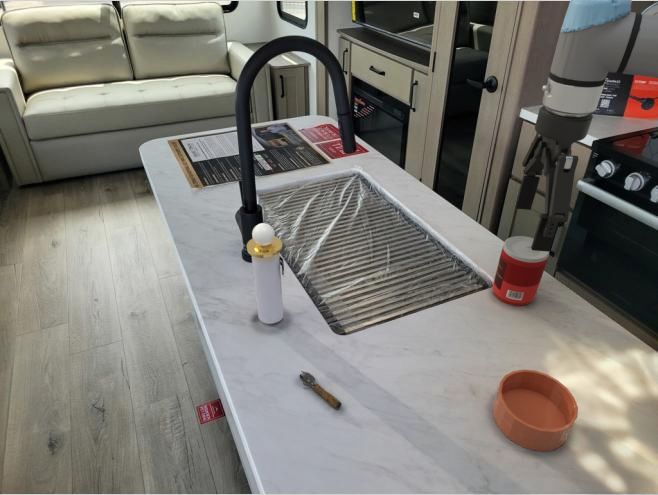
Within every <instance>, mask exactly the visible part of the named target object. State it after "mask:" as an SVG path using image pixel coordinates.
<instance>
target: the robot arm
mask: <svg viewBox="0 0 658 495" xmlns="http://www.w3.org/2000/svg"><path fill="white" fill-rule="evenodd" d="M632 2H633V0H569V4H568V7H567V10H566V13H565V16H564V19H563V21H562V26H561V28H560V31H559V36H558V39H557V43H556V46H555V51H554V55H553V58H552V62H551V65H550V70H549V74H548V78H547V83H546V84H545V85H542V87H541V91H542V92H543V96H542V101H541V103H542V106H540V107H539V110H538V113H537V117H536V121H535V125H534V130H535V133H536V134H535V136H534V139H533V140H532V142H531V144H530V146H529V149H528V150H527V151H526V154H525V156H524V159H523V160H522V162H521V164H522V167H523V176H522V179H521V183H520V187H519V191H518V195H517V197H516V198H517V199H516V201H515V206H514V207H515V209H516V210H528V211H530V210H532V206H533V204H534V200H535V197H536V194H537V190H538V187H539V183H540V181H541V180H540V179H541V178H540V176H544V177H545V196H544V197H545V198H544V199H545V200H544V213H541V214H538V217H539V220H538V224H537V227H536V230H535V234H534V237H533V238H534V240H533V243H532V246H531V249H532V250H535V251H547V252H549V253H550V251H551V247H552V244H553V241H554V238H555V237H556V236H555V235H556V233H557V231H558V230H557V229H558V227H559V224H560V223H567V222H568V221H569V216H570V209H571V203H572V202H571V200H572V196H573V187H574V180H575V175H576V174H575V173H576V169H577V166H578V163H579V155H573V154H572V152H573V151H572V147H573V146H572V145H573V144H574V143H576V142H580V141H582V140H584V139H585V138H586V137H587V135H588V133H589V129H590V127H591V124H592V121H593V118H594V115H593V114H592V113H594V112H596V110H597V108H598V105H599V102H600V99H601V96H602V92H603V91H604V87H605V84H606V79H607V76H608V74H609V73H615V74H622V75H631V76H638V77H645V78H654V79H658V2H655V3H653V4H651V5H650V6H648V7H647V8H645V9H644V10H643V11H642V12H641V13H636V12H633V11H632Z"/></svg>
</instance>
